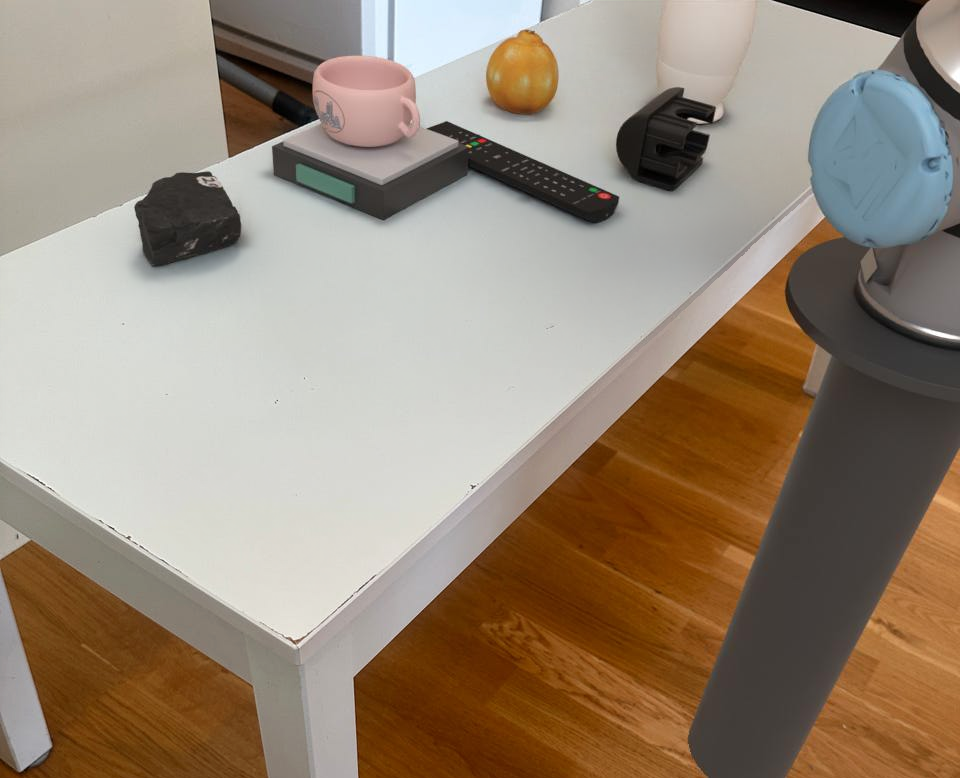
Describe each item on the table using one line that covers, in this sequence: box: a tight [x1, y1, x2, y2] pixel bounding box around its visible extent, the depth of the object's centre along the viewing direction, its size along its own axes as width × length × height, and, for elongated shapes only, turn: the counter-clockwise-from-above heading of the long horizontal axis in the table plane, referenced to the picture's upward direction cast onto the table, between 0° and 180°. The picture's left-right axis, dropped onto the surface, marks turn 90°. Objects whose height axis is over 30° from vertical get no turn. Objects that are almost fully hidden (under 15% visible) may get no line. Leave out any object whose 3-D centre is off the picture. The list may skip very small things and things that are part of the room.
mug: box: [312, 55, 421, 147], centre depth 99 cm, size 12×10×6 cm
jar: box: [656, 0, 758, 125], centre depth 116 cm, size 11×10×15 cm
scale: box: [271, 122, 469, 221], centre depth 102 cm, size 14×14×3 cm
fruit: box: [485, 29, 559, 115], centre depth 116 cm, size 8×8×8 cm
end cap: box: [615, 87, 716, 192], centre depth 107 cm, size 10×7×7 cm
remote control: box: [425, 120, 620, 223], centre depth 105 cm, size 5×24×1 cm, turn 49°
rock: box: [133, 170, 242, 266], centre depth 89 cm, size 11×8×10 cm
